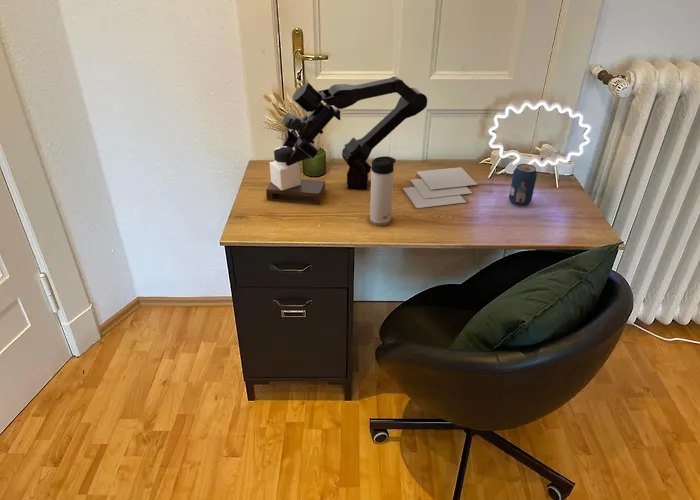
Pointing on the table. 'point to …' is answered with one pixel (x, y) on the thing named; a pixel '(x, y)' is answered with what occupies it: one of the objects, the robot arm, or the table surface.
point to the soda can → (522, 185)
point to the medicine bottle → (284, 169)
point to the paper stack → (439, 187)
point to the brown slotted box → (298, 192)
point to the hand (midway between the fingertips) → (283, 158)
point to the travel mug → (381, 190)
